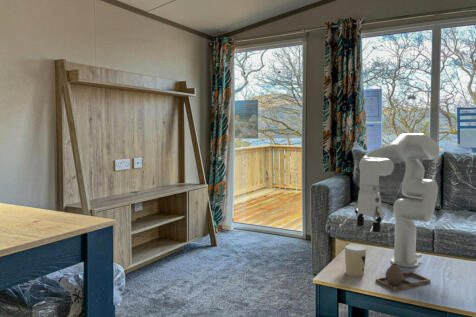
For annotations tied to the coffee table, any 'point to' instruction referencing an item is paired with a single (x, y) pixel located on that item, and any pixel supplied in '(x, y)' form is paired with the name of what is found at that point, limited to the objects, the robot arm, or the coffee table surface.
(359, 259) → the coffee cup
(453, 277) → the coffee table surface
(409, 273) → the frame
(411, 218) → the robot arm
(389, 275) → the vase
